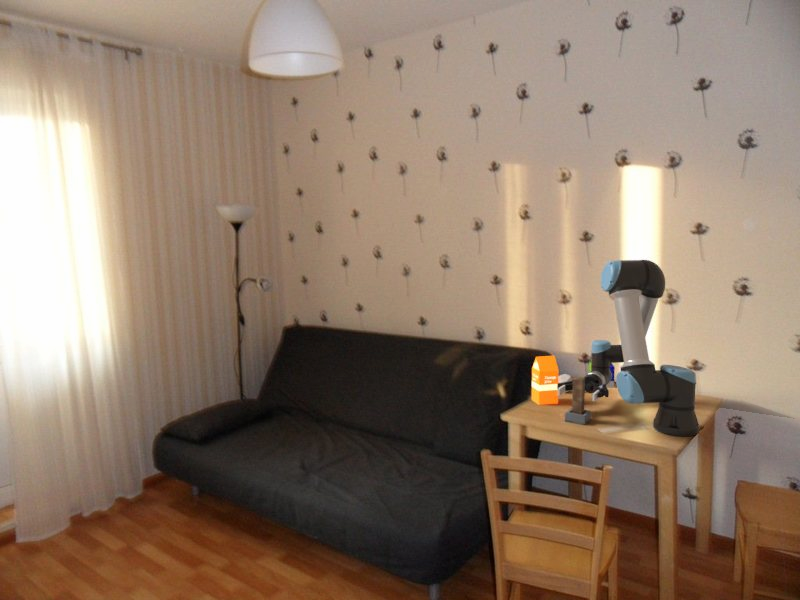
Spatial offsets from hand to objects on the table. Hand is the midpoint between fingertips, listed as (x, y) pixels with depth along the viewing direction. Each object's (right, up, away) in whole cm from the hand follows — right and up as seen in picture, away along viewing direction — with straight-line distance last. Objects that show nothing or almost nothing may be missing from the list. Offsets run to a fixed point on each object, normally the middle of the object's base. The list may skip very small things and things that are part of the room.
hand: (575, 394), depth 213 cm
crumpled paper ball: (+9, -6, +44) cm, 45 cm away
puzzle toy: (+29, -5, +54) cm, 62 cm away
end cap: (+2, -11, +4) cm, 12 cm away
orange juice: (-4, -8, +29) cm, 30 cm away
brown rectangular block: (+2, -10, +4) cm, 11 cm away
